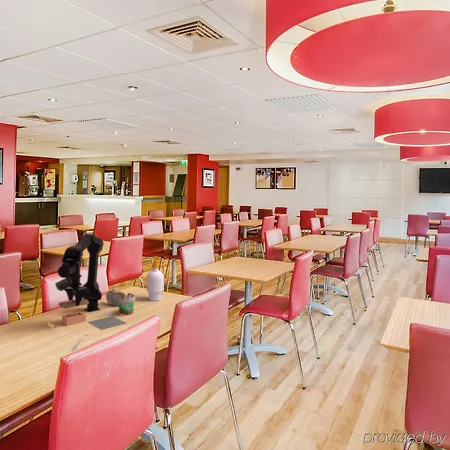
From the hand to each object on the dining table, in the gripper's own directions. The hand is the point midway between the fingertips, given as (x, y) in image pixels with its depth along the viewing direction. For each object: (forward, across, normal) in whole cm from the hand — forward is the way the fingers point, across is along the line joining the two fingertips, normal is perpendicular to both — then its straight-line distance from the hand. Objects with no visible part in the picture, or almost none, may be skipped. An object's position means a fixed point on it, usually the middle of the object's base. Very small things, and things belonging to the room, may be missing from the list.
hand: (73, 304), depth 195 cm
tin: (+10, -13, +31) cm, 35 cm away
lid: (0, 0, 0) cm, 0 cm away
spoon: (+10, +26, -11) cm, 30 cm away
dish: (+10, 0, 0) cm, 10 cm away
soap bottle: (+10, -9, +55) cm, 57 cm away
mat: (+10, +11, +12) cm, 19 cm away
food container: (+10, +5, +28) cm, 30 cm away
